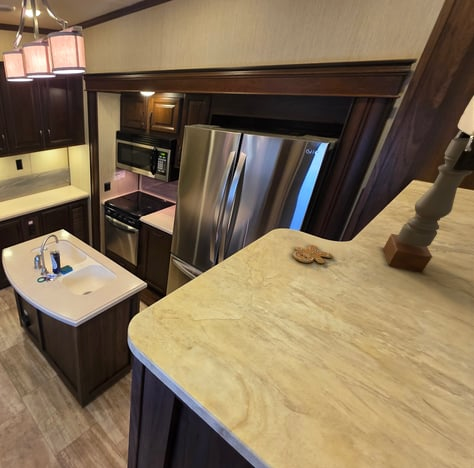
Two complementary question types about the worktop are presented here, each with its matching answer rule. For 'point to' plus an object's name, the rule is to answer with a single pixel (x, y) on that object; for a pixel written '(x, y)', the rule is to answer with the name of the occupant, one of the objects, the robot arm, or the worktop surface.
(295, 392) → the worktop surface
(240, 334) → the worktop surface
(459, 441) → the worktop surface
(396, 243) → the brown wooden block
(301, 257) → the cookie
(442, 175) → the candle holder
